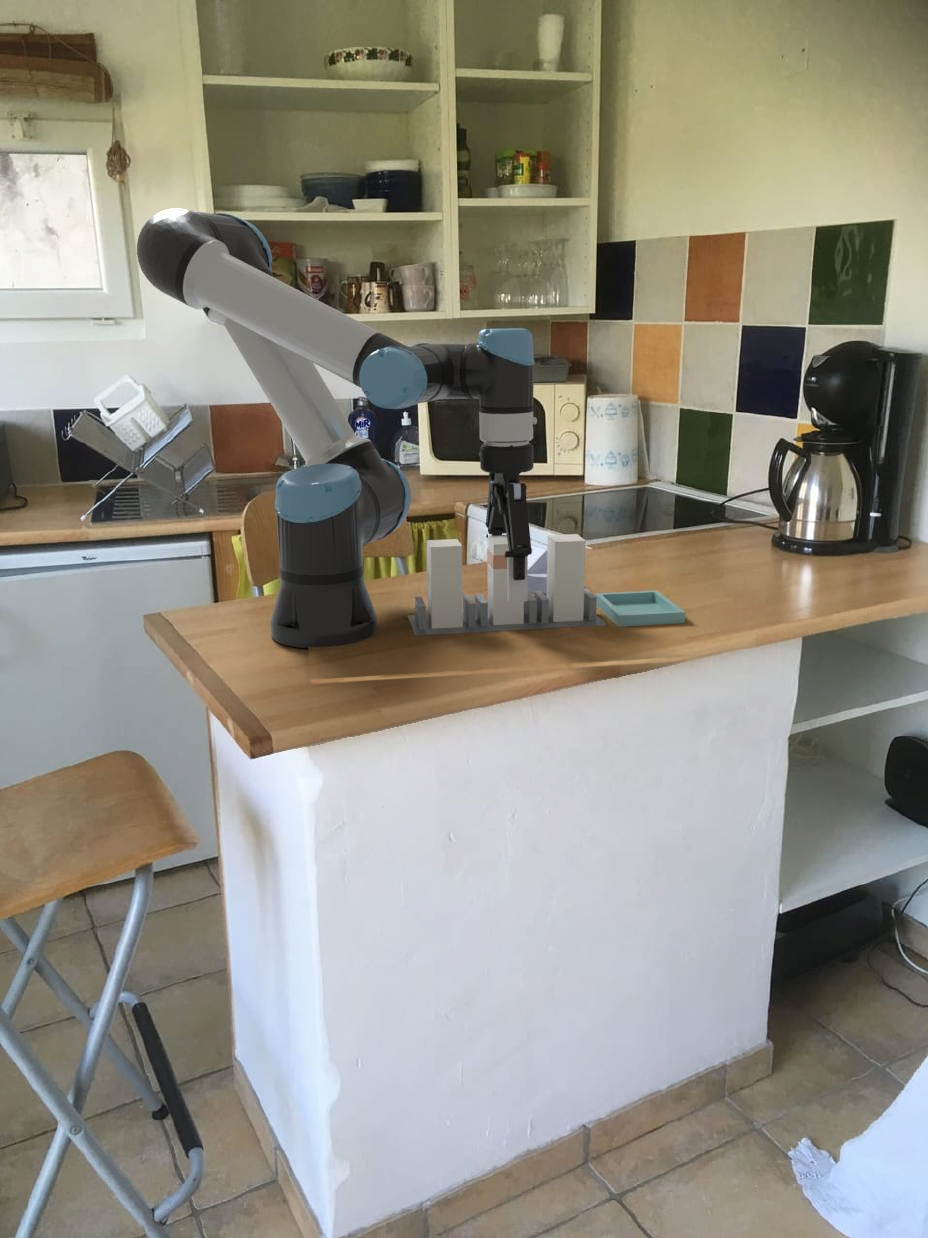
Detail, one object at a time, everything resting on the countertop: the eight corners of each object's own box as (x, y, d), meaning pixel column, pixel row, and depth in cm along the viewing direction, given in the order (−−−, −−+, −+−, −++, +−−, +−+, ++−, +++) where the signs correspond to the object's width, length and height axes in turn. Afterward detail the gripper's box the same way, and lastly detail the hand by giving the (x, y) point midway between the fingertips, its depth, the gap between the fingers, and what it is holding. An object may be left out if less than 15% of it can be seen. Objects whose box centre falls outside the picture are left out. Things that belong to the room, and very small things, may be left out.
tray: (618, 629, 147) (619, 615, 147) (594, 606, 159) (595, 593, 158) (684, 625, 149) (685, 612, 148) (656, 603, 160) (657, 590, 160)
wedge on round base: (493, 583, 173) (540, 600, 162) (493, 544, 171) (541, 559, 160) (535, 575, 177) (584, 591, 167) (536, 537, 175) (585, 551, 165)
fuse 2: (553, 621, 149) (555, 541, 146) (546, 613, 154) (547, 535, 150) (583, 620, 150) (585, 540, 146) (575, 611, 154) (577, 534, 151)
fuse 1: (431, 628, 146) (430, 547, 143) (427, 619, 151) (426, 540, 147) (462, 626, 147) (462, 545, 144) (457, 617, 151) (457, 539, 148)
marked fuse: (493, 625, 148) (493, 544, 144) (487, 616, 152) (487, 537, 149) (524, 623, 149) (525, 543, 145) (517, 614, 153) (518, 536, 149)
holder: (415, 638, 144) (414, 611, 142) (407, 618, 153) (406, 592, 152) (606, 628, 148) (607, 601, 147) (587, 608, 157) (588, 583, 156)
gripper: (554, 452, 131) (553, 610, 138) (514, 431, 155) (514, 567, 161) (497, 455, 130) (499, 614, 136) (465, 433, 154) (467, 569, 160)
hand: (507, 589), depth 149 cm, fingers open, 13 cm apart
